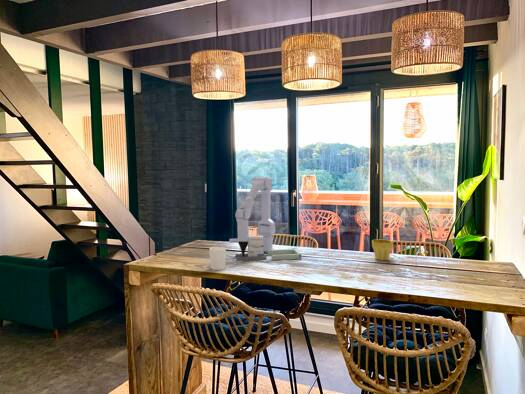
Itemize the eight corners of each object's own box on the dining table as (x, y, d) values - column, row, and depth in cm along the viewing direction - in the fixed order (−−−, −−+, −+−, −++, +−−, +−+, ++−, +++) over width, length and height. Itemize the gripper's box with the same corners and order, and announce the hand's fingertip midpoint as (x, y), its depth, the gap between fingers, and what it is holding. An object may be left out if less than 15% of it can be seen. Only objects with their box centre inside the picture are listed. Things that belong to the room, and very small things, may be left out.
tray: (267, 254, 228) (267, 250, 228) (295, 253, 230) (295, 249, 230) (271, 260, 214) (271, 255, 214) (301, 258, 216) (301, 254, 216)
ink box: (263, 256, 222) (263, 235, 222) (263, 258, 218) (263, 236, 217) (248, 256, 223) (247, 235, 222) (247, 258, 218) (247, 236, 217)
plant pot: (373, 261, 210) (373, 242, 209) (370, 256, 220) (370, 239, 219) (393, 261, 209) (394, 242, 208) (389, 257, 219) (390, 239, 218)
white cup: (206, 268, 197) (206, 248, 196) (218, 265, 202) (218, 246, 202) (217, 271, 191) (216, 250, 191) (229, 268, 197) (229, 248, 196)
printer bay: (235, 256, 223) (235, 254, 222) (264, 255, 225) (264, 252, 225) (236, 260, 214) (236, 257, 214) (266, 259, 216) (266, 256, 216)
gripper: (230, 232, 213) (230, 257, 214) (257, 231, 215) (257, 256, 216) (229, 230, 220) (229, 254, 221) (255, 229, 222) (255, 253, 223)
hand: (243, 255), depth 219 cm, fingers closed
